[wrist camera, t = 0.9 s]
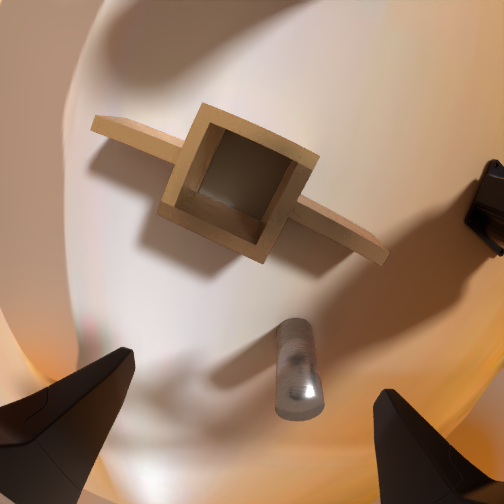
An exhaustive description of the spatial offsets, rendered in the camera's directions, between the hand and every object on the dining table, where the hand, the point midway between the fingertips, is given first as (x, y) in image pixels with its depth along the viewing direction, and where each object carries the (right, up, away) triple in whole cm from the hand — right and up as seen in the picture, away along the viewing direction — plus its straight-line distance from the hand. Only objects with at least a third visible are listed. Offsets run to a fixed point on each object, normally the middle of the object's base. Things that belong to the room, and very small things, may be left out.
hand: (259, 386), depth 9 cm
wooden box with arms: (-1, +10, +10) cm, 14 cm away
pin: (+3, -2, +14) cm, 15 cm away
